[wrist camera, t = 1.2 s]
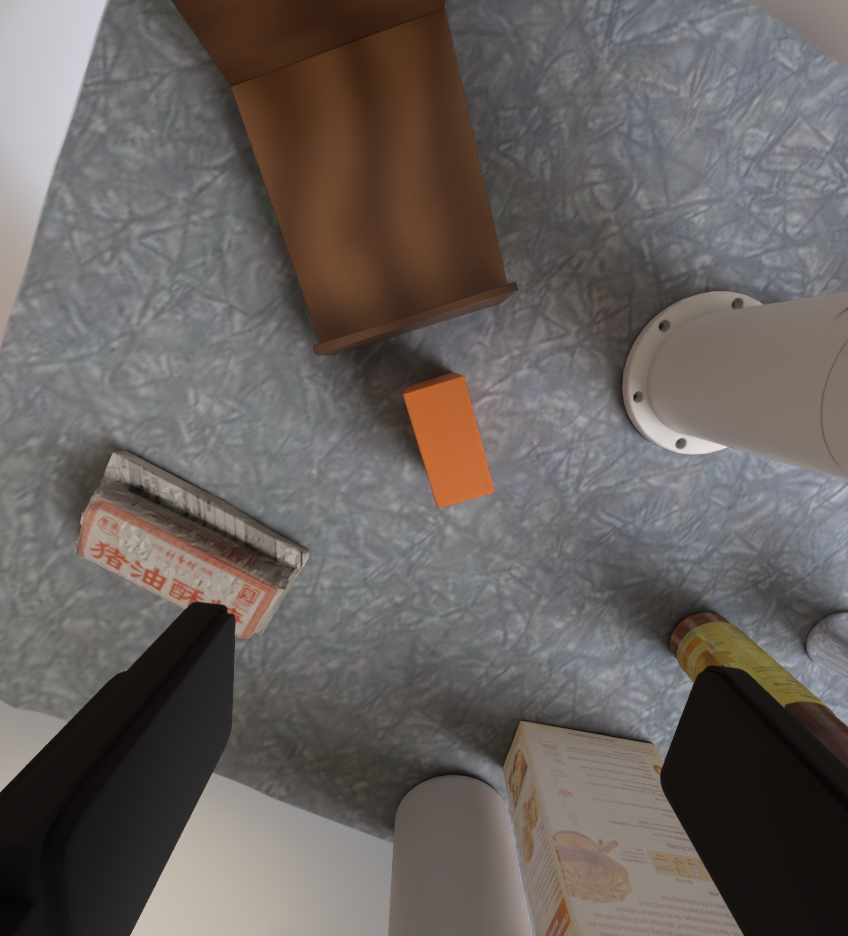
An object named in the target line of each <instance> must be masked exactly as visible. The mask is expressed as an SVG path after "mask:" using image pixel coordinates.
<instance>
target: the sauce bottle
mask: <svg viewBox="0 0 848 936" xmlns="http://www.w3.org/2000/svg"><path fill="white" fill-rule="evenodd" d="M670 647H671V650H672V652H673V654H674V656H675V657H676V659H677V660H678V663H679V665H680V667H681V668H682V669H683V670H684V672H685V673H686V674H687V675H688V676H689V678H690V679H691V680H692V681H693V682H695V679H696V677H697V675H698V674H699V673H700V672H703V670H704V669H705V668H706V667H707V666H709V665H717V666H725V667H733V668H739V669H742V670H744V671H746V672H747V673H748V674H750V675H751V676H752V677H753V678H754V679H755V680H756V681H757V682H758V683H759V684H760V685H761V686H762V687H763V688H764V689H765V690H766V691H767V692H768V693H769V694H771V695H772V696H773V697H774V698H775V699H776V700H777V701H778V702H779V703H780V704H781V705H782V706H783V707H784V708H785V709H786V710H787V711H788V712H789V713H790V714H791V715H793V716H794V717H795V718H796V719H797V720H798V721H799V722H800V723H801V724H802V725H803V726H804V727H805V728H806V729H807V730H808V731H809V732H810V733H811V734H812V735H814V736H815V737H816V738H817V739H818V740H819V741H820V742H821V743H822V744H823V745H824V746H825V747H826V748H827V749H828V750H829V751H830V752H831V753H832V754H833V755H835V756H836V757H837V758H838V759H839V760H840V761H841V762H842V763H843V764H844V765H845V766H846V767H847V768H848V727H847V726H846V725H845V724H844V723H843V722H842V721H840V720H839V719H838V718H837V717H836V716H835V715H834V713H833V712H832V711H831V710H830V709H829V708H828V707H827V706H826V705H825V704H824V703H823V702H821V701H820V700H819V699H818V698H817V697H816V696H815V695H814V694H812V693H811V692H810V691H809V690H808V689H807V688H806V687H804V686H803V685H802V684H801V683H800V682H799V681H798V680H796V679H795V678H794V677H793V676H792V675H791V674H790V673H788V672H787V671H786V670H785V669H784V668H783V667H782V666H781V665H779V664H778V663H777V662H776V661H775V660H774V659H773V658H772V657H770V656H769V655H768V654H767V653H766V652H765V651H764V650H763V649H761V648H760V647H759V646H758V645H757V644H756V643H755V642H753V641H752V640H751V639H750V638H749V637H748V636H747V635H745V634H744V633H743V632H742V631H741V630H740V629H739V628H738V627H736V626H735V625H732V624H730V623H729V622H728V621H727V620H726V619H724V618H723V617H722V616H720V615H718V614H714V613H710V612H701V613H697V614H693V615H690V616H687V617H686V618H684V619H683V620H682V621H681V622H680V623H679V624H678V625H677V626H676V627H675V629H674V631H673V633H672V635H671V638H670Z"/></svg>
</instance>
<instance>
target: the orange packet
mask: <svg viewBox="0 0 848 936" xmlns="http://www.w3.org/2000/svg"><path fill="white" fill-rule="evenodd" d="M403 397H404V400H405V404H406V407H407V410H408V414H409V417H410V420H411V423H412V427H413V430H414V433H415V436H416V440H417V443H418V446H419V449H420V453H421V456H422V459H423V462H424V466H425V469H426V472H427V476H428V479H429V482H430V485H431V489H432V492H433V495H434V498H435V502H436V505H437V508H441V507H445V506H448V505H452V504H455V503H459V502H462V501H466V500H469V499H473V498H477V497H480V496H484V495H487V494H491V493H494V487H493V484H492V480H491V476H490V472H489V469H488V465H487V461H486V457H485V453H484V450H483V446H482V442H481V438H480V435H479V431H478V427H477V423H476V420H475V416H474V412H473V408H472V404H471V401H470V397H469V393H468V389H467V386H466V382H465V378H464V376H463V375H460V374H457V373H454V372H452V373H449V374H446V375H443V376H439V377H436V378H433V379H429V380H426V381H423V382H420V383H416V384H413V385H410V386H407V388H406V390H405V391H404V393H403Z"/></svg>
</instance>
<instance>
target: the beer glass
mask: <svg viewBox="0 0 848 936" xmlns="http://www.w3.org/2000/svg"><path fill="white" fill-rule="evenodd" d="M806 650H807V653H808V655H809V657H810V658H811V659H812V660H813V661H814V662H816V663H817V664H819V665H820V666H822V667H824V668H825V669H827V670H829V671H831V672H833V673H835V674H836V675H838V676H840V677H841V678H843V679H845V680H846V681H848V612H841V613H835V614H832V615H830V616H827V617H825V618H824V619H822V620H821V621H819V622H818V623H817V624H816V625H815V626H814V627H813V628H812V630H811V631H810V633H809V635H808V637H807V640H806Z"/></svg>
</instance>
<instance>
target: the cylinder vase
mask: <svg viewBox="0 0 848 936" xmlns="http://www.w3.org/2000/svg"><path fill="white" fill-rule="evenodd" d="M393 846H394V847H393V862H392V880H391V897H390V914H389V931H388V936H532V930H531V925H530V920H529V915H528V910H527V905H526V899H525V894H524V889H523V884H522V879H521V873H520V868H519V863H518V858H517V853H516V848H515V842H514V837H513V832H512V827H511V822H510V816H509V812H508V809H507V806H506V804H505V802H504V800H503V799H502V797H501V796H500V795H499V794H498V793H497V792H496V791H495V790H494V789H493V788H492V787H490V786H489V785H487V784H486V783H484V782H482V781H480V780H477V779H475V778H471V777H467V776H461V775H445V776H439V777H435V778H431V779H429V780H426V781H424V782H422V783H420V784H418V785H417V786H415V787H414V788H413V789H411V790H410V791H409V792H408V793H407V794H406V795H405V797H404V798H403V799H402V801H401V803H400V805H399V807H398V809H397V812H396V816H395V828H394V845H393Z"/></svg>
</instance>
